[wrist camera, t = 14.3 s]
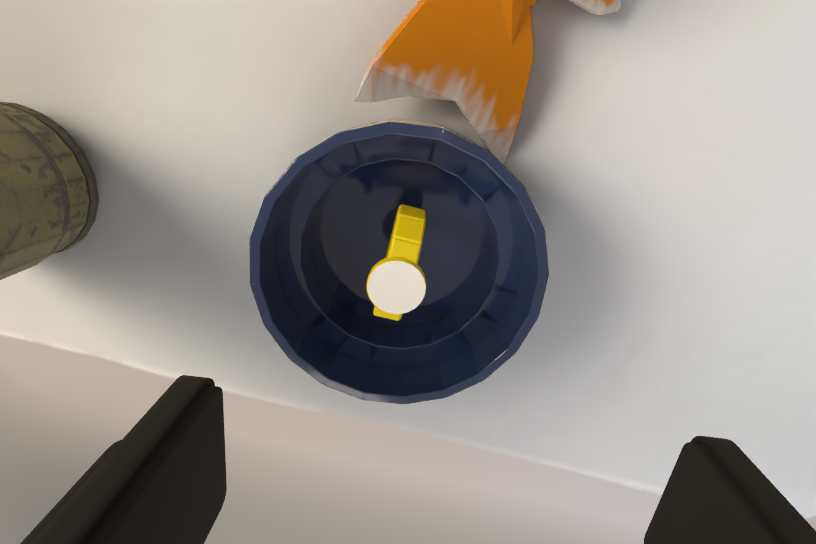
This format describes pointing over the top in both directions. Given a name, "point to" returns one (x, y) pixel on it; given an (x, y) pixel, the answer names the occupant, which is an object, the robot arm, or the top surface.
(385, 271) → the watch
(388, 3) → the top surface
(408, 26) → the fish
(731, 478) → the robot arm
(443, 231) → the navy bowl
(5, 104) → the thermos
